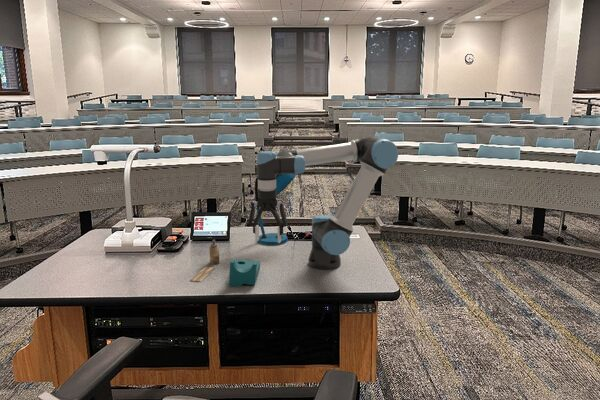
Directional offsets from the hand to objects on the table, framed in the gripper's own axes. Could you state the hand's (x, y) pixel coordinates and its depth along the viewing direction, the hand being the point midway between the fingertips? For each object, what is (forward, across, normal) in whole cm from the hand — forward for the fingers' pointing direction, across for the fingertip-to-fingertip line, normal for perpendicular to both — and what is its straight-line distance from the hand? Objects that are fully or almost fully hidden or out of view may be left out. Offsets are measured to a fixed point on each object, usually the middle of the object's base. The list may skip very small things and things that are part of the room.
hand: (268, 241), depth 204 cm
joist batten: (+17, +30, 0) cm, 35 cm away
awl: (+17, +31, -15) cm, 39 cm away
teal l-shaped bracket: (+18, +11, 0) cm, 21 cm away
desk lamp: (+18, +11, -53) cm, 57 cm away
